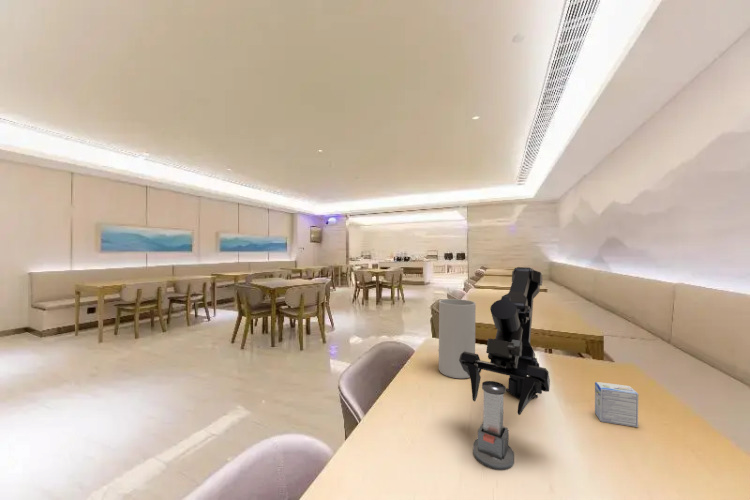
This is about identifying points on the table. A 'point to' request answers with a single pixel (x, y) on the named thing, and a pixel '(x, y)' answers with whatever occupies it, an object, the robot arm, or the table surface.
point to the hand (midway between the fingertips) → (495, 407)
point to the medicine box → (616, 404)
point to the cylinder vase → (455, 335)
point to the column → (493, 408)
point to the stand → (493, 450)
